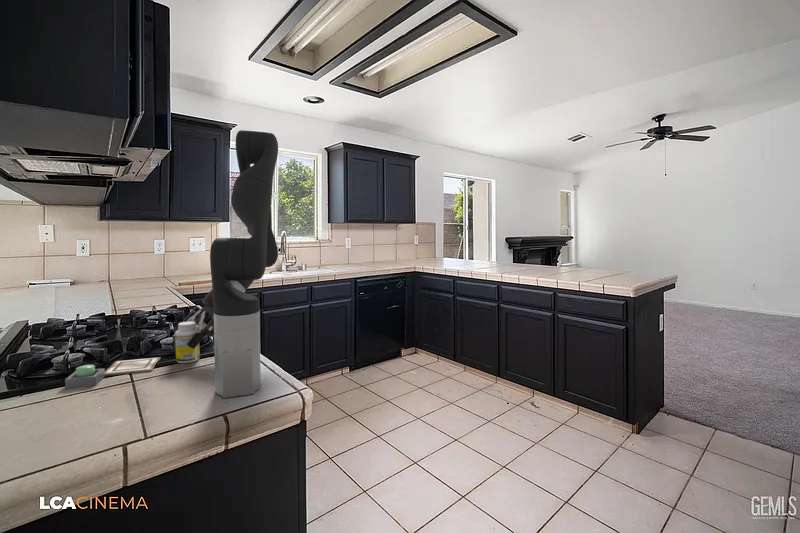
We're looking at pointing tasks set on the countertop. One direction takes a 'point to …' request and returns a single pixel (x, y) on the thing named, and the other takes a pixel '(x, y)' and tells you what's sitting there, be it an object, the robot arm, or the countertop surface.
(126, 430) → the countertop surface
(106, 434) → the countertop surface
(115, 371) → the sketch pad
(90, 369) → the button
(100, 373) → the button housing
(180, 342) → the supplement bottle
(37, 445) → the countertop surface
